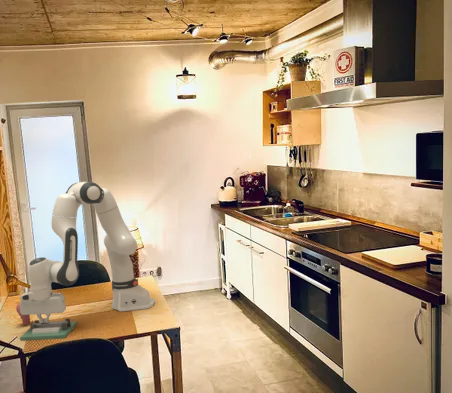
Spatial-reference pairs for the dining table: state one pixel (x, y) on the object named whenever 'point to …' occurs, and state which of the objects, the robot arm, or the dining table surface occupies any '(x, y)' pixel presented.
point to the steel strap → (49, 323)
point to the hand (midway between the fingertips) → (44, 322)
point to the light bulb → (24, 317)
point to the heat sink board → (49, 331)
